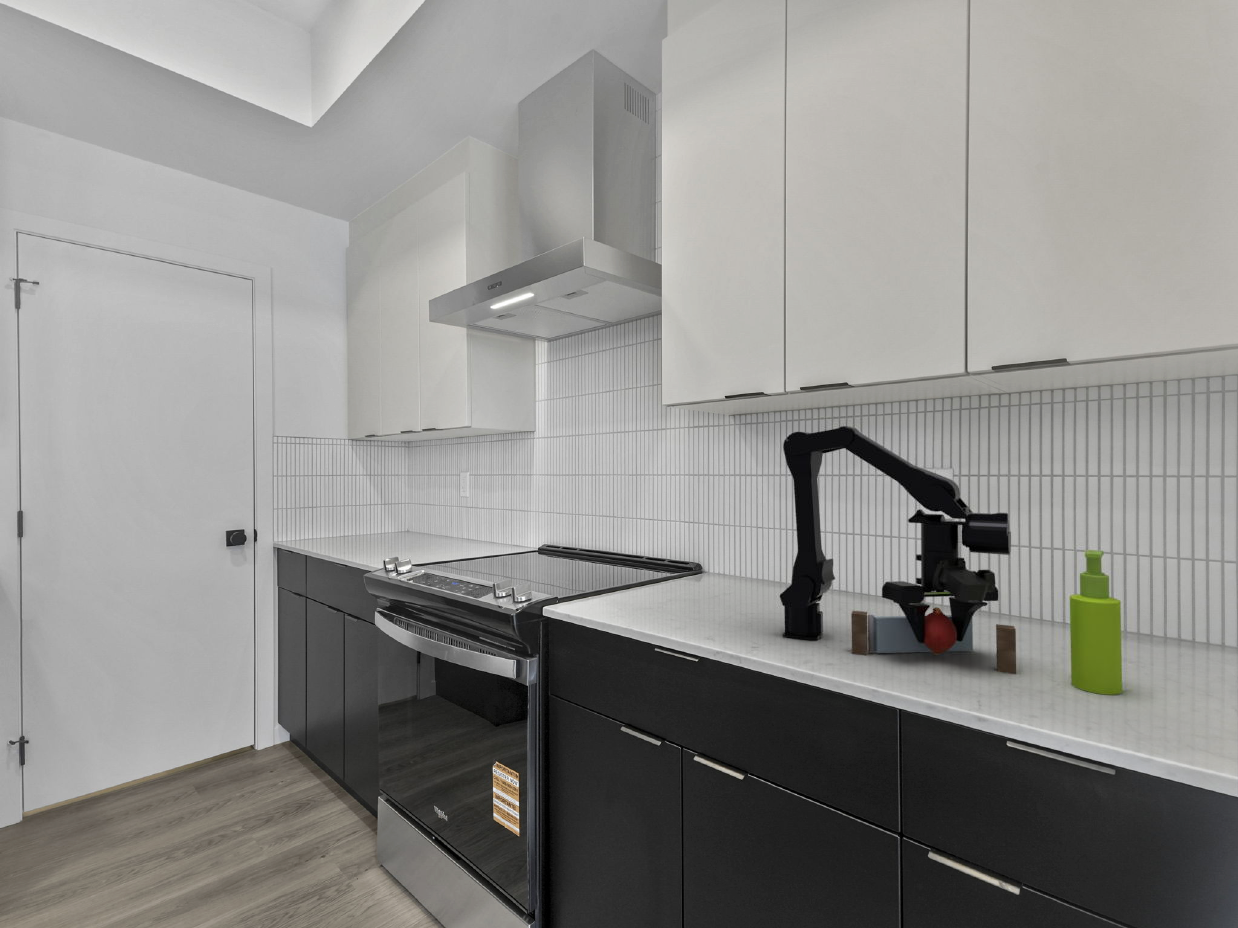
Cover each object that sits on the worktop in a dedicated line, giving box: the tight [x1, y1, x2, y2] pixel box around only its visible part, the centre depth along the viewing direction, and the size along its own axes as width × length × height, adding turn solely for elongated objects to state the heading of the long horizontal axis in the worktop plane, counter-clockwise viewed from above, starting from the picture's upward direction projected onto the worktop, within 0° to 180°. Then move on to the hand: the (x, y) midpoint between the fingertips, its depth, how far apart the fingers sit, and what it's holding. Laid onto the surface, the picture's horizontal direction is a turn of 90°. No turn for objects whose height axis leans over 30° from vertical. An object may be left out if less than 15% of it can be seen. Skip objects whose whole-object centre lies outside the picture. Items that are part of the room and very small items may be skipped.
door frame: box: [850, 610, 1017, 675], centre depth 101 cm, size 24×3×7 cm, turn 63°
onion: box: [924, 607, 957, 655], centre depth 103 cm, size 6×6×8 cm
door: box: [867, 614, 974, 654], centre depth 106 cm, size 18×1×6 cm, turn 93°
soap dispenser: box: [1069, 549, 1123, 696], centre depth 89 cm, size 6×7×20 cm
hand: (940, 641), depth 103 cm, fingers open, 7 cm apart
